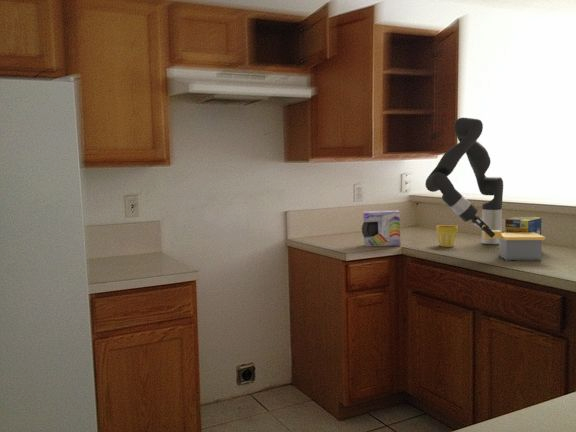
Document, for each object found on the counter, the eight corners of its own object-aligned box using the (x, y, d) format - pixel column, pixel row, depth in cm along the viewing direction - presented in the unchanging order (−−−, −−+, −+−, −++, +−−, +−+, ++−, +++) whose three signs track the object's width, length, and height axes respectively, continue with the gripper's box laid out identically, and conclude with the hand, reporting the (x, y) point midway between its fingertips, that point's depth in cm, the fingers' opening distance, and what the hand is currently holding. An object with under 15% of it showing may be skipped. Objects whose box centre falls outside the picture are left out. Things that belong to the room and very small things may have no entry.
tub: (498, 255, 243) (499, 235, 242) (532, 255, 242) (532, 235, 241) (506, 261, 232) (506, 239, 231) (541, 260, 230) (541, 239, 229)
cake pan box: (362, 246, 278) (361, 211, 276) (362, 244, 283) (361, 210, 281) (400, 246, 275) (400, 211, 273) (400, 244, 280) (400, 210, 278)
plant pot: (457, 244, 277) (457, 225, 276) (458, 247, 267) (458, 227, 266) (436, 243, 280) (436, 224, 279) (435, 247, 270) (435, 227, 269)
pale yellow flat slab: (479, 235, 244) (480, 228, 244) (534, 235, 242) (534, 228, 241) (487, 240, 231) (487, 233, 230) (545, 239, 228) (545, 232, 227)
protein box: (504, 253, 250) (504, 219, 248) (518, 248, 261) (519, 215, 259) (527, 255, 243) (528, 220, 241) (541, 250, 253) (542, 217, 252)
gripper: (473, 203, 230) (501, 230, 229) (466, 200, 244) (493, 226, 243) (460, 216, 231) (488, 243, 231) (454, 213, 245) (480, 238, 245)
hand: (491, 234), depth 237 cm, fingers open, 8 cm apart
